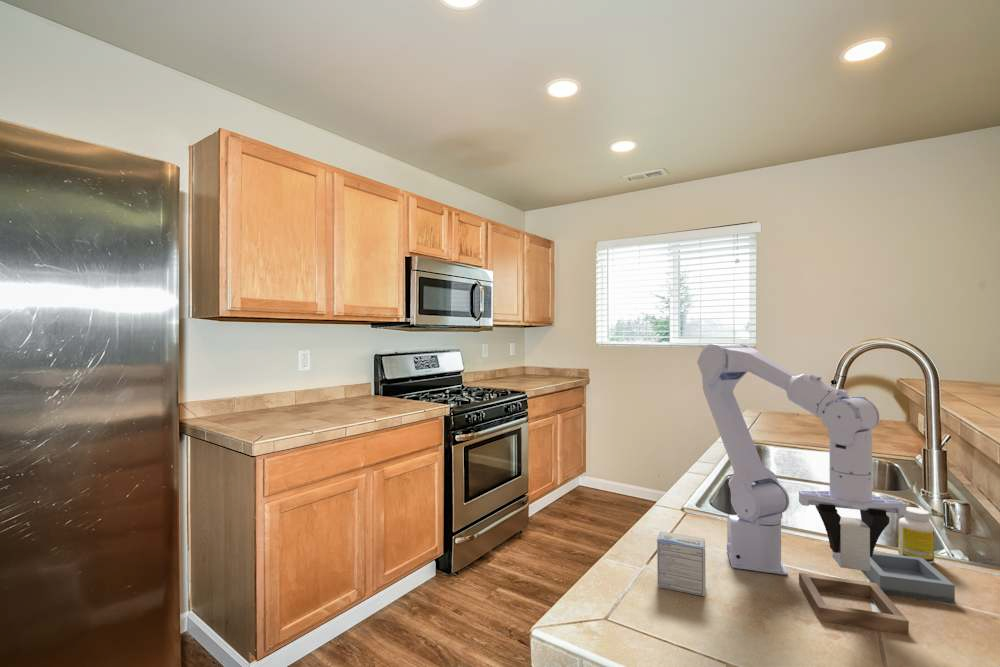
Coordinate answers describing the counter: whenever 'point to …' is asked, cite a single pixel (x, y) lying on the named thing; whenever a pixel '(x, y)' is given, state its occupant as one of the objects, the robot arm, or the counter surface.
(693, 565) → the medicine box
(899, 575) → the tray
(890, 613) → the brown flat square frame
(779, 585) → the counter surface
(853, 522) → the brushed metal top block
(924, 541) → the supplement bottle
